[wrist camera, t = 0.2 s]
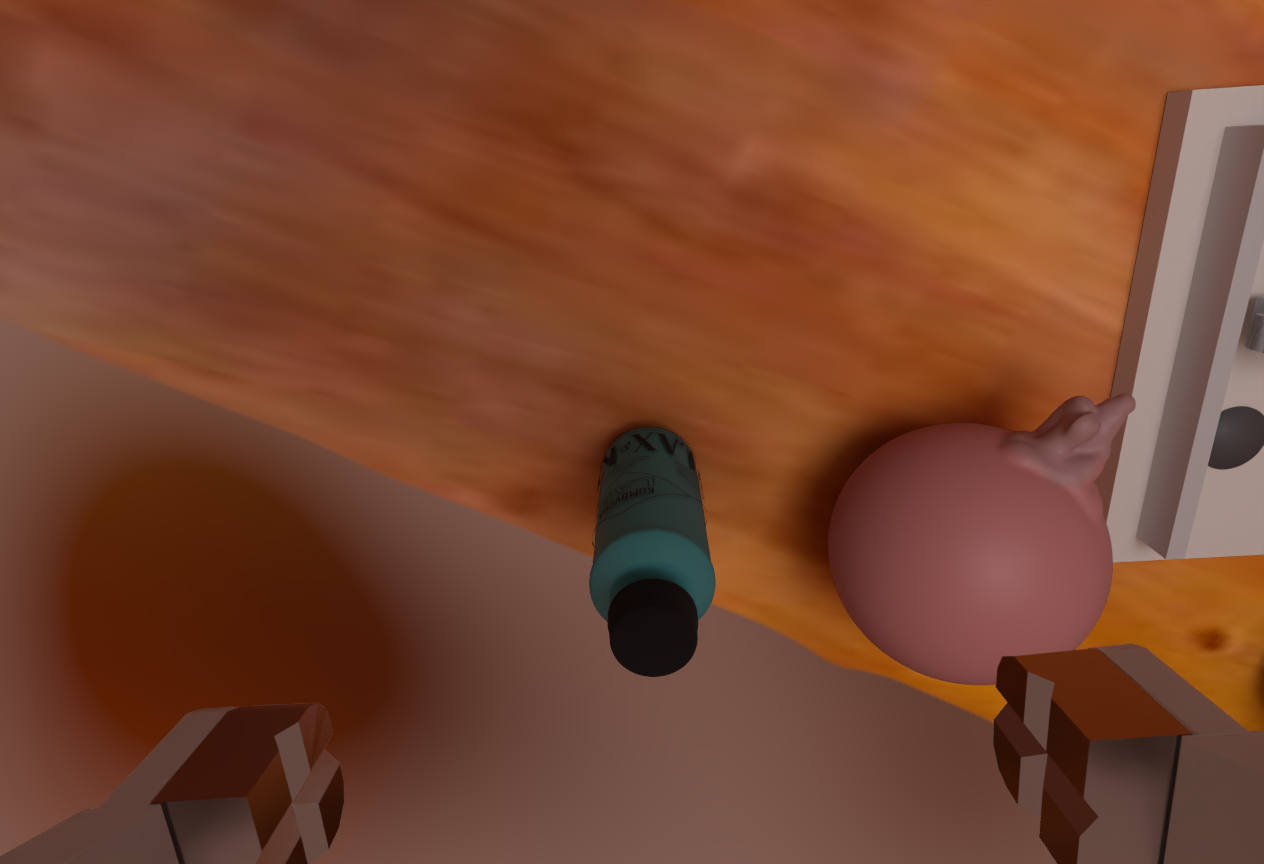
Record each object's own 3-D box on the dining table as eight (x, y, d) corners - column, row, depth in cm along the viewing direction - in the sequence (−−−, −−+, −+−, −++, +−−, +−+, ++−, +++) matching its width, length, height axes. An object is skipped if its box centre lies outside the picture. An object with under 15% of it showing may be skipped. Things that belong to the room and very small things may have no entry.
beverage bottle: (714, 457, 50) (763, 642, 31) (647, 519, 52) (656, 728, 33) (647, 395, 48) (655, 551, 30) (579, 461, 50) (548, 647, 31)
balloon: (1125, 418, 49) (1328, 531, 35) (918, 620, 55) (1018, 788, 41) (960, 286, 46) (1109, 350, 31) (759, 516, 52) (808, 658, 37)
